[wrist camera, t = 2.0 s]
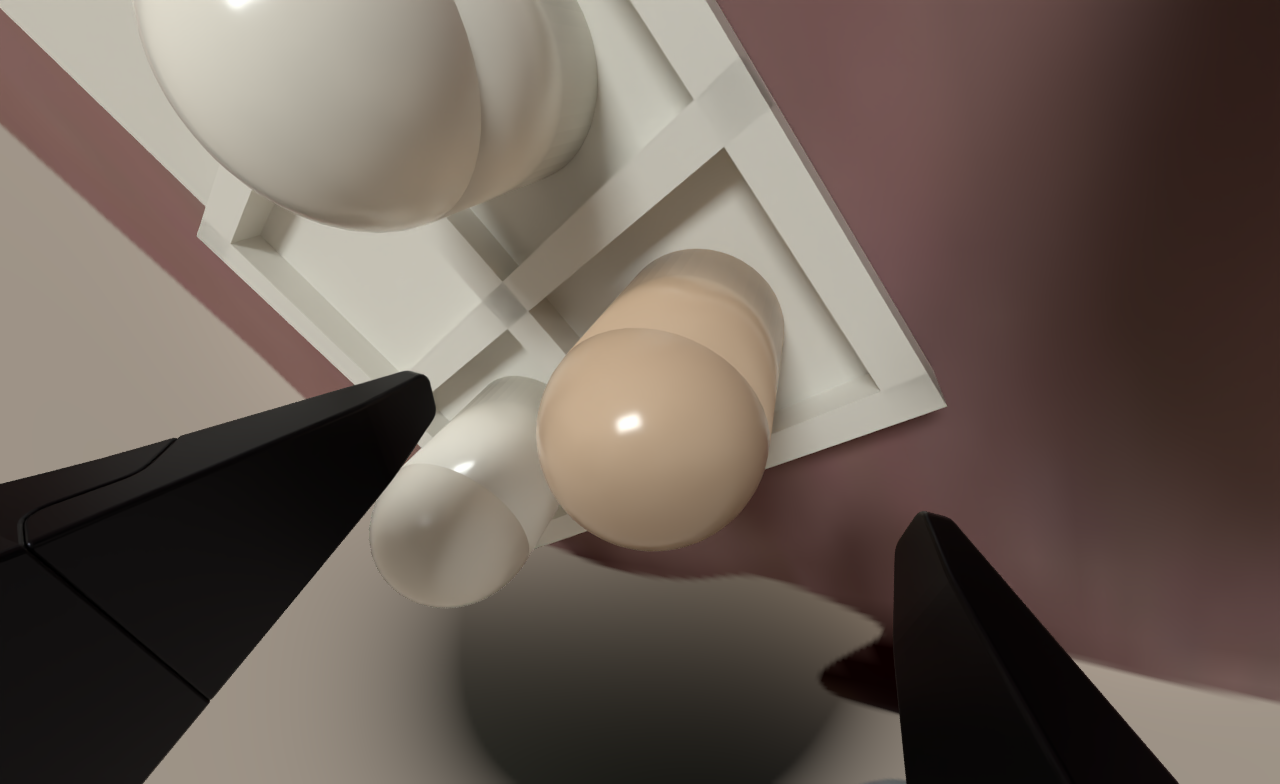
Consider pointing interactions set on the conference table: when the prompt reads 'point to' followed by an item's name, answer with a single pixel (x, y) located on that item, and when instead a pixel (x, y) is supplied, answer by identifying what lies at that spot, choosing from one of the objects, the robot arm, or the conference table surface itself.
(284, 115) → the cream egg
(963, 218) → the conference table surface
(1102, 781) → the robot arm
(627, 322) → the brown egg
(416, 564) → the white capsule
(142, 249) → the conference table surface
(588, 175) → the egg carton
